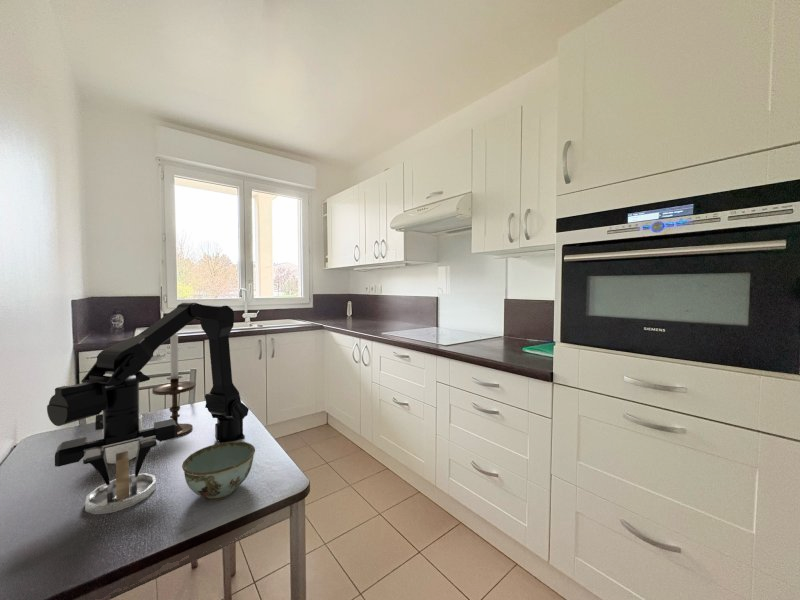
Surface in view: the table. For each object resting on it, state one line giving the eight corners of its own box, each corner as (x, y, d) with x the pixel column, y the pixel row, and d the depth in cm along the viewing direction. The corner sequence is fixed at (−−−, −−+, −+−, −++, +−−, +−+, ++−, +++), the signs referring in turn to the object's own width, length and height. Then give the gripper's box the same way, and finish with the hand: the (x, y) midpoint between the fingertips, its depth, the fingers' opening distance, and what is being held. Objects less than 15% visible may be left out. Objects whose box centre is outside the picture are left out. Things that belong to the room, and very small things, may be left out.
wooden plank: (128, 487, 69) (128, 450, 68) (129, 495, 66) (128, 457, 66) (116, 490, 67) (115, 453, 67) (116, 499, 64) (115, 461, 64)
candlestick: (171, 424, 102) (170, 318, 102) (203, 425, 102) (202, 318, 101) (143, 440, 92) (141, 320, 91) (179, 441, 91) (177, 321, 91)
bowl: (203, 523, 59) (202, 481, 58) (170, 498, 66) (169, 460, 66) (268, 485, 70) (267, 450, 70) (233, 467, 77) (233, 435, 77)
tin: (153, 474, 74) (153, 464, 74) (157, 497, 66) (157, 485, 66) (88, 494, 67) (88, 482, 67) (83, 522, 59) (83, 509, 59)
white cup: (119, 466, 78) (118, 426, 77) (94, 463, 79) (93, 424, 79) (150, 451, 85) (149, 414, 85) (126, 448, 87) (126, 412, 87)
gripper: (171, 389, 78) (172, 451, 79) (62, 406, 66) (64, 480, 66) (177, 400, 70) (178, 469, 70) (53, 423, 58) (55, 507, 58)
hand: (122, 479), depth 66 cm, fingers open, 4 cm apart
